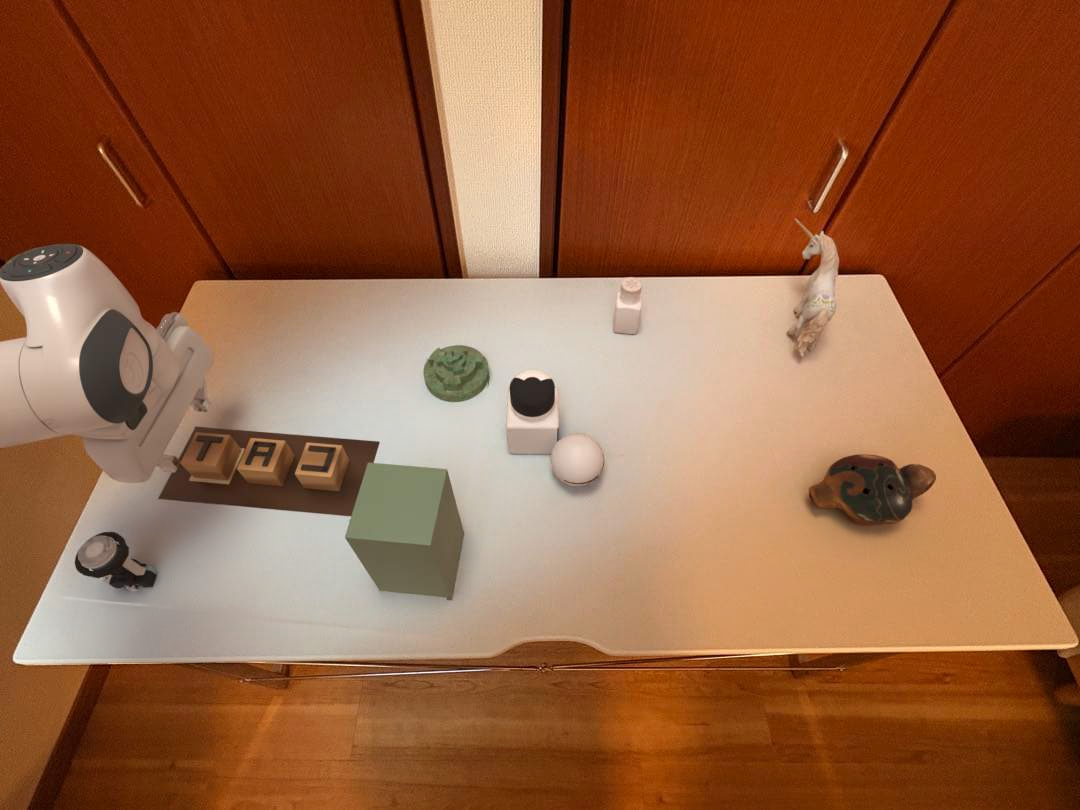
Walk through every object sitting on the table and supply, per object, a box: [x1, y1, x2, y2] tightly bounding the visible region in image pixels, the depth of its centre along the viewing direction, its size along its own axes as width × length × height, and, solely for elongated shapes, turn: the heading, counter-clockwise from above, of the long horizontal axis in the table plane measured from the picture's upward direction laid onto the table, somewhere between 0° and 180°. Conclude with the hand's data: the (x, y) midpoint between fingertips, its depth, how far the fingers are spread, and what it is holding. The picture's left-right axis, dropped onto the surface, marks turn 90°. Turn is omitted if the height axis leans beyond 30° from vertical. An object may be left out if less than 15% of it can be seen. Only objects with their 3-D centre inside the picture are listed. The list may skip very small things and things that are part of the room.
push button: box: [74, 531, 159, 591], centre depth 74 cm, size 7×5×10 cm
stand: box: [344, 462, 465, 601], centre depth 72 cm, size 9×9×17 cm
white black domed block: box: [505, 369, 560, 455], centre depth 86 cm, size 7×7×12 cm
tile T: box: [180, 432, 242, 480], centre depth 85 cm, size 5×5×4 cm
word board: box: [157, 426, 381, 517], centre depth 87 cm, size 12×28×1 cm, turn 84°
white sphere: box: [549, 432, 623, 487], centre depth 84 cm, size 10×7×7 cm
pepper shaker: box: [612, 276, 643, 335], centre depth 99 cm, size 4×4×10 cm
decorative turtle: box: [808, 453, 937, 526], centre depth 80 cm, size 10×15×8 cm, turn 100°
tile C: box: [295, 443, 349, 491], centre depth 84 cm, size 5×5×4 cm
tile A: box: [237, 438, 295, 486], centre depth 85 cm, size 5×5×4 cm
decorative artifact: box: [423, 344, 491, 403], centre depth 94 cm, size 10×7×10 cm
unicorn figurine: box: [786, 218, 840, 358], centre depth 98 cm, size 7×20×13 cm, turn 178°
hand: (189, 436), depth 80 cm, fingers open, 8 cm apart
